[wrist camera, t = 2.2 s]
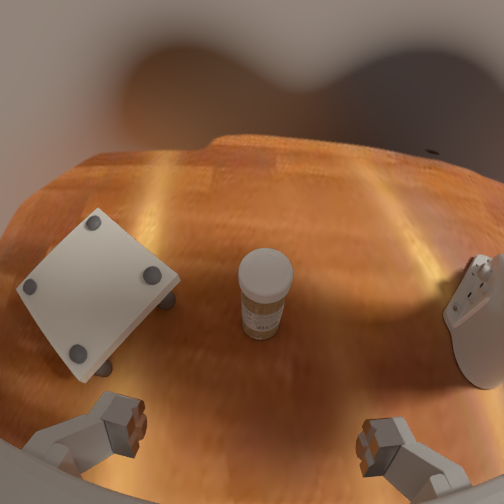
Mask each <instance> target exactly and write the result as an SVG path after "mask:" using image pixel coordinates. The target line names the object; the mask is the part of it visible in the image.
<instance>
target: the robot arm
mask: <svg viewBox="0 0 504 504" xmlns="http://www.w3.org/2000/svg"><path fill="white" fill-rule="evenodd" d="M453 308H454V309H455V311H454V309H453ZM443 317H444V320H445V323H446V325H447V327H448V329H449V331H450V333H451V337H452V343H453V350H454V354H455V358H456V360H457V363H458V365H459V367H460V369H461V371H462V373H463V374H464V376H465V377H466V378H467V379H468V380H469V381H470V382H471V383H472V384H474V385H475V386H477V387H479V388H483V389H492V388H496V387H498V386H499V385H501V384H502V383H503V382H504V254H498V255H496V256H495V257H494V258H493V259H492V258H490V257H488V256H485V255H477V256H475V257H474V259H473V260H472V262H471V264H470V266H469V268H468V270H467V272H466V274H465V275H464V277H463V279H462V281H461V283H460V284H459V286H458V288H457V290H456V292H455V293H454V295H453V297H452V298H451V300H450V302H449V303H448V305H447V307H446V308H445V310H444V312H443ZM144 410H145V404H144V401H143V400H140V399H136V398H132V397H128V396H125V395H121V394H116V393H113V392H110V391H105V392H104V393H103V394H102V396H101V397H100V398H99V400H98V401H97V402H96V404H95V405H94V407H93V408H92V409H91V411H90V412H89V413H88V415H85V414H83V415H80V416H78V417H75V418H73V419H70V420H67V421H65V422H62V423H59V424H56V425H54V426H51V427H48V428H45V429H42V430H39V431H36V432H35V434H34V435H33V436H32V437H31V438H30V440H29V441H28V442H27V443H26V445H25V446H24V447H23V448H22V450H20V449H18V448H17V447H15V446H13V445H11V444H10V443H8V442H6V441H5V440H3V439H1V438H0V504H159V503H155V502H151V501H147V500H143V499H140V498H136V497H133V496H129V495H126V494H123V493H119V492H116V491H113V490H110V489H107V488H104V487H102V486H99V485H96V484H93V483H91V482H88V481H86V480H83V478H82V476H81V474H82V473H83V472H85V471H87V470H88V469H90V468H92V467H93V466H95V465H97V464H98V463H100V462H101V461H103V460H105V459H106V458H108V457H109V456H111V455H113V453H115V454H119V455H122V456H126V457H130V458H135V456H136V453H137V451H138V449H139V447H140V446H139V441H140V440H142V439H143V438H144V436H145V433H146V429H147V417H146V415H145V414H144V413H143V412H144ZM362 428H363V432H362V433H360V434H359V435H358V438H357V440H356V454H357V457H358V458H359V459H361V460H362V461H361V463H360V468H361V472H362V475H363V477H374V476H383V477H384V478H385V479H387V480H388V481H389V482H390V483H391V484H392V485H393V486H394V487H395V488H396V489H397V490H399V491H400V492H401V493H402V494H403V495H404V496H405V497H406V498H407V499H409V500H410V501H411V503H410V504H504V474H502V475H500V476H498V477H495V478H493V479H491V480H488V481H486V482H483V483H481V484H478V485H476V486H472V484H471V482H470V481H469V479H468V477H467V475H466V473H465V472H464V470H463V468H462V467H461V466H459V465H458V464H456V463H454V462H452V461H451V460H449V459H447V458H445V457H444V456H442V455H440V454H438V453H437V452H435V451H433V450H432V449H430V448H428V447H427V446H425V445H423V444H422V443H417V442H416V440H415V438H414V436H413V434H412V432H411V430H410V429H409V427H408V425H407V423H406V421H405V419H404V418H403V417H402V416H399V417H390V418H379V419H366V420H365V421H364V423H363V426H362Z"/></svg>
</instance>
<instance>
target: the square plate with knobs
mask: <svg viewBox="0 0 504 504" xmlns="http://www.w3.org/2000/svg"><path fill="white" fill-rule="evenodd" d="M180 281H181V280H180V278H179V275H178V274H177V273H176V272H174V271H173V270H172V269H171V268H169V267H168V266H167V265H166V264H164V263H163V262H162V261H161V260H160V259H158V258H157V257H156V256H155V255H153V254H152V253H151V252H150V251H148V250H147V249H146V248H145V247H144V246H142V245H141V244H140V243H139V242H138V241H136V240H135V239H134V238H133V237H132V236H130V235H129V234H128V233H127V232H126V231H124V230H123V229H122V228H121V227H120V226H119V225H117V224H116V223H115V222H114V221H113V220H112V219H110V218H109V217H108V216H107V215H106V214H105V213H104V212H102V211H101V210H100V209H99V208H97V209H96V210H95V211H94V212H93V213H91V214H90V215H89V216H88V217H87V218H86V219H85V220H84V221H83V222H81V223H80V224H79V225H78V226H77V227H76V228H75V229H74V230H73V231H72V232H71V233H70V234H69V235H68V236H67V237H66V238H64V239H63V240H62V241H61V242H60V243H59V244H58V245H57V246H56V247H55V248H54V249H53V250H52V251H51V252H50V253H49V254H48V255H47V256H46V257H45V258H44V259H43V260H42V261H41V262H40V264H39V265H38V266H37V267H36V268H35V269H34V270H33V271H32V272H31V273H30V274H29V275H28V276H27V277H26V278H25V280H24V281H23V282H22V283H21V284H20V285H19V286H18V287H17V288H16V290H17V292H18V294H19V296H20V297H21V299H22V301H23V302H24V304H25V306H26V307H27V309H28V310H29V312H30V314H31V315H32V317H33V318H34V320H35V322H36V323H37V325H38V326H39V328H40V329H41V331H42V332H43V334H44V335H45V336H46V338H47V339H48V341H49V342H50V344H51V345H52V346H53V348H54V349H55V351H56V352H57V353H58V355H59V356H60V357H61V359H62V360H63V361H64V363H65V364H66V365H67V367H68V368H69V369H70V370H71V372H72V373H73V374H74V375H75V377H76V378H77V379H78V380H79V381H81V382H83V383H86V382H87V381H88V380H89V379H90V378H91V377H92V375H93V374H96V375H98V376H101V377H108V376H109V375H110V374H111V372H112V364H111V362H110V361H109V360H107V359H108V358H109V357H110V356H111V354H112V353H113V352H114V351H115V350H116V349H117V348H118V347H119V346H120V345H121V344H122V342H123V341H124V340H125V339H126V338H127V337H128V336H129V335H130V334H131V333H132V332H133V331H134V329H135V328H136V327H137V326H138V325H139V324H140V323H141V322H142V321H143V320H144V319H145V318H146V317H147V316H148V315H149V313H150V312H151V311H152V310H153V309H154V308H155V307H156V306H157V305H158V306H159V307H160V308H162V309H170V308H171V307H173V306H174V304H175V296H174V294H173V292H172V289H173V288H174V287H175V286H176V285H177V284H178V283H179V282H180Z"/></svg>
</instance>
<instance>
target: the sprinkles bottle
mask: <svg viewBox="0 0 504 504" xmlns="http://www.w3.org/2000/svg"><path fill="white" fill-rule="evenodd" d="M238 277H239V285H240V288H241V306H242V327H243V329H244V331H245V333H246V334H247V335H248V336H250V337H251V338H254V339H257V340H264V339H268V338H270V337H272V336H273V335H274V334H275V333H276V332H277V330H278V328H279V322H280V319H281V315H282V312H283V308H284V305H285V299H286V295H287V293H288V291H289V290H290V287H291V283H292V279H293V268H292V265H291V262H290V261H289V259H288V258H287V257H286V256H285V255H284V254H283V253H281V252H279V251H277V250H275V249H271V248H260V249H256V250H253V251H251V252H250V253H248V254H247V255H246V256H245V257H244V258H243V259H242V261H241V263H240V266H239V272H238Z"/></svg>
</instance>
